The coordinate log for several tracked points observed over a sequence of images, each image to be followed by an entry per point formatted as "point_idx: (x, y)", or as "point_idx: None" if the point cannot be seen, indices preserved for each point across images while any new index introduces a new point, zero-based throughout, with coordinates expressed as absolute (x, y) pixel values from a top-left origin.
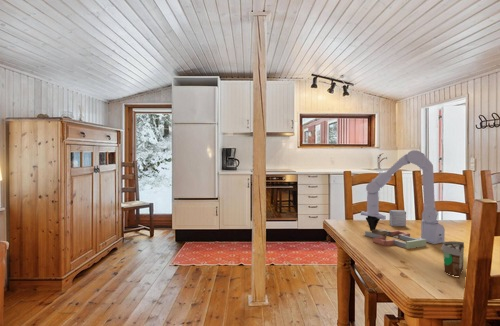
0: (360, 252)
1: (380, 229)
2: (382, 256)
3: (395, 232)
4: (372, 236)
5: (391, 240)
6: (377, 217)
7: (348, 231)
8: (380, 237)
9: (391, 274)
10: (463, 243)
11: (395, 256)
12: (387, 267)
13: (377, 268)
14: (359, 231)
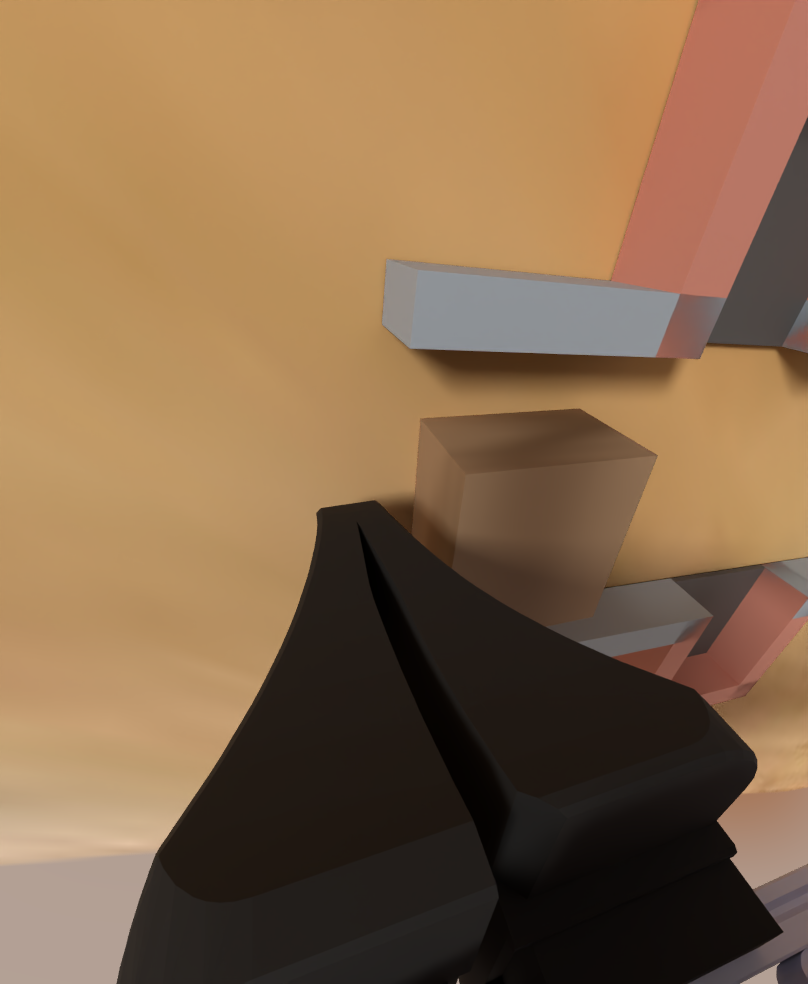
0: None
1: (528, 486)
2: None
3: (767, 146)
4: None
5: (789, 641)
6: (780, 951)
7: (25, 760)
8: (674, 674)
9: (799, 775)
10: None
11: (798, 699)
12: (781, 767)
13: (752, 792)
14: (66, 620)
